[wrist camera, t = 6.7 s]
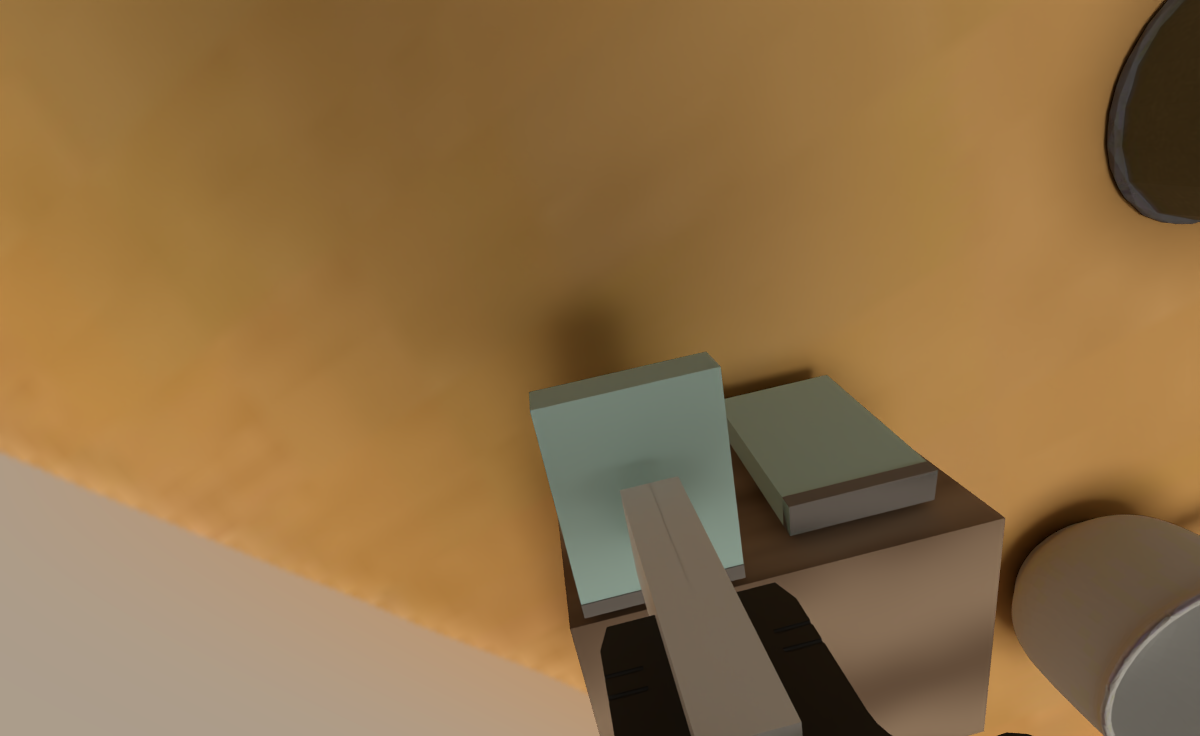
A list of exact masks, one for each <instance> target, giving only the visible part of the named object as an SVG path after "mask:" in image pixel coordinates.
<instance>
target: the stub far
mask: <svg viewBox="0 0 1200 736" xmlns="http://www.w3.org/2000/svg"><path fill="white" fill-rule="evenodd" d="M724 401H725V409H726V418H727V426H728V435H729V443H730V444H731V446H732V447H733V449H734V450H735V452H736V453H737V455H738V457H739V458H740V460H741V461H742V463H743V464H744V466H745V467H746V469H747V470H748V472H749V473H750V475H751V477H752V478H753V480H754V481H755V483H756V484H757V486H758V487H759V489H760V490H761V492H762V493H763V495H764V497H765V498H766V500H767V501H768V503H769V504H770V506H771V507H772V509H773V510H774V512H775V513H776V515H777V517H778V518H779V520H780V521H781V523H782V524H783V526H784V527H785V529H786V530H787V532H788V533H789V535H790V536H792V535H796V534H800V533H804V532H808V531H812V530H816V529H820V528H824V527H828V526H832V525H836V524H840V523H844V522H848V521H852V520H856V519H860V518H864V517H868V516H872V515H876V514H880V513H884V512H888V511H892V510H896V509H900V508H904V507H908V506H912V505H916V504H920V503H924V502H928V501H932V500H935V492H936V484H937V476H938V469H936V468H935V467H934V466H933V465H932V464H931V463H929V462H928V461H926V460H925V459H924V458H922V457H921V456H920V455H919V454H918V453H917V452H915V451H914V450H913V449H912V448H911V447H910V446H908V445H907V444H906V443H905V442H904V441H903V440H902V439H900V438H899V437H898V436H897V435H896V434H895V433H893V432H892V431H891V430H890V429H889V428H888V427H886V426H885V425H884V424H883V423H882V422H881V421H879V420H878V419H877V418H876V417H875V416H874V415H873V414H871V413H870V412H869V411H868V410H867V409H866V408H864V407H863V406H862V405H861V404H860V403H859V402H857V401H856V400H855V399H854V398H853V397H852V396H851V395H849V394H848V393H847V392H846V391H845V390H844V389H842V388H841V387H840V386H839V385H838V384H837V383H835V382H834V381H833V380H832V379H831V378H830V377H828V376H827V375H824V376H820V377H816V378H811V379H807V380H803V381H799V382H794V383H790V384H786V385H782V386H777V387H773V388H769V389H765V390H760V391H756V392H752V393H748V394H743V395H739V396H735V397H731V398H726V399H724Z"/></svg>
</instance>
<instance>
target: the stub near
mask: <svg viewBox="0 0 1200 736" xmlns="http://www.w3.org/2000/svg"><path fill="white" fill-rule="evenodd" d="M529 400H530V413H531V417H532V420H533V424H534V428H535V432H536V436H537V439H538V443H539V447H540V451H541V454H542V458H543V462H544V466H545V470H546V473H547V477H548V481H549V485H550V489H551V492H552V496H553V500H554V504H555V508H556V511H557V515H558V519H559V523H560V526H561V530H562V534H563V538H564V542H565V545H566V549H567V553H568V557H569V561H570V564H571V568H572V572H573V576H574V580H575V583H576V587H577V591H578V595H579V598H580V602H581V607H582V610H583V614H584V618H589V617H593V616H597V615H601V614H605V613H609V612H613V611H616V610H620V609H624V608H628V607H632V606H636V605H640V604H644V603H645V600H644V597H643V593H642V590H641V586H640V583H639V579H638V576H637V571H636V566H635V561H634V557H633V552H632V547H631V542H630V538H629V533H628V528H627V523H626V518H625V514H624V509H623V504H622V499H621V495H620V490H623V489H627V488H631V487H635V486H639V485H643V484H647V483H652V482H656V481H660V480H664V479H668V478H672V477H676V476H678V477H679V479H680V481H681V483H682V485H683V487H684V489H685V491H686V493H687V495H688V497H689V499H690V501H691V503H692V505H693V507H694V509H695V511H696V513H697V515H698V517H699V519H700V521H701V523H702V525H703V527H704V529H705V531H706V533H707V535H708V537H709V539H710V541H711V543H712V545H713V547H714V549H715V551H716V553H717V555H718V557H719V559H720V561H721V563H722V565H723V567H724V569H725V571H726V573H727V575H728V577H729V579H730V581H734V580H738V579H742V578H746V577H745V568H744V563H743V554H742V546H741V537H740V529H739V520H738V512H737V503H736V495H735V486H734V477H733V469H732V460H731V452H730V443H729V435H728V426H727V418H726V409H725V401H724V392H723V383H722V375H721V367H720V366H719V365H718V363H717V362H716V361H715V360H714V359H713V358H712V357H711V356H710V355H709V354H708V353H707V352H702V353H698V354H693V355H689V356H685V357H680V358H676V359H672V360H667V361H663V362H658V363H654V364H650V365H645V366H641V367H637V368H632V369H628V370H624V371H619V372H615V373H611V374H606V375H602V376H597V377H593V378H589V379H584V380H580V381H576V382H571V383H567V384H563V385H558V386H554V387H550V388H545V389H541V390H536V391H532V392H529Z"/></svg>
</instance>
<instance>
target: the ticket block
mask: <svg viewBox="0 0 1200 736" xmlns="http://www.w3.org/2000/svg"><path fill="white" fill-rule="evenodd" d="M730 452H731V460H732V469H733V477H734V486H735V495H736V503H737V512H738V520H739V529H740V537H741V546H742V554H743V563H744V568H745V577H746V578H742V579H738V580H734V581H731V583H732V585H733V587H734V589H735V591H736V592H739V591H743V590H747V589H751V588H754V587H758V586H762V585H766V584H770V583H774V582H775V583H777V584H778V585H779V586H781V587H782V588H783V589H785V590H786V591H787V592H789V593H790V594H791V595H793V596H794V597H795V598H797V600H798V602H799V603H800V605H801V606H802V608H803V609H804V611H805V613H806V614H807V616H808V617H809V619H810V622H811V624H813V625H814V627H815V628H816V630H817V632H818V633H819V635H820V636H821V638H822V641H823V643H825V644H826V646H827V647H828V649H829V651H830V652H831V654H832V655H833V657H834V659H835V660H836V662H837V663H838V665H839V666H840V668H841V670H842V671H843V673H844V674H845V676H846V678H847V679H848V681H849V682H850V684H851V685H852V687H853V689H854V690H855V692H856V693H857V695H858V697H859V698H860V700H861V701H862V703H863V704H864V706H865V708H866V709H867V711H868V712H869V713H870V715H871V716H872V717H873V718H874V720H875V721H876V722H877V723H878V724H879V725H880V726H881V727H882V728H883V729H884V730H886V731H887V732H888V733H889V734H891V735H892V736H968V735H972V734H976V733H979V732H983V731H984V724H985V714H986V704H987V695H988V685H989V675H990V665H991V655H992V645H993V635H994V625H995V615H996V605H997V595H998V585H999V575H1000V565H1001V556H1002V546H1003V536H1004V526H1005V518H1004V517H1003V516H1002V515H1000V514H999V513H998V512H996V511H995V510H994V509H992V508H991V507H990V506H988V505H987V504H986V503H984V502H983V501H982V500H980V499H979V498H978V497H976V496H975V495H974V494H972V493H971V492H970V491H968V490H967V489H965V488H964V487H963V486H961V485H960V484H959V483H957V482H956V481H955V480H953V479H952V478H951V477H949V476H948V475H947V474H945V473H944V472H943V471H941V470H940V469H939V468H937V467H936V466H935V465H933V464H932V463H931V464H932V465H933V466H934V467H935V468H936V469H938V476H937V484H936V492H935V500H932V501H928V502H924V503H920V504H916V505H912V506H908V507H904V508H900V509H896V510H892V511H888V512H884V513H880V514H876V515H872V516H868V517H864V518H860V519H856V520H852V521H848V522H844V523H840V524H836V525H832V526H828V527H824V528H820V529H816V530H812V531H808V532H804V533H800V534H796V535H792V536H790V535H789V533H788V532H787V530H786V529H785V527H784V526H783V524H782V523H781V521H780V520H779V518H778V517H777V515H776V513H775V512H774V510H773V509H772V507H771V506H770V504H769V503H768V501H767V500H766V498H765V497H764V495H763V493H762V492H761V490H760V489H759V487H758V486H757V484H756V483H755V481H754V480H753V478H752V477H751V475H750V473H749V472H748V470H747V469H746V467H745V466H744V464H743V463H742V461H741V460H740V458H739V457H738V455H737V453H736V452H735V450H734V449H733V447H732V446H731V444H730ZM915 452H916V451H915ZM919 455H920V454H919ZM920 456H921V455H920ZM921 457H922V456H921ZM922 458H924V457H922ZM924 459H925V458H924ZM925 460H926V459H925ZM926 461H928V460H926ZM928 462H929V461H928ZM929 463H930V462H929ZM558 522H559V519H558ZM559 531H560V540H561V549H562V558H563V567H564V577H565V586H566V595H567V604H568V613H569V622H570V630H571V634H572V637H573V641H574V644H575V648H576V652H577V655H578V659H579V662H580V666H581V669H582V673H583V677H584V680H585V684H586V687H587V691H588V694H589V698H590V702H591V705H592V709H593V712H594V716H595V719H596V723H597V727H598V730H599V734H600V736H614V731H613V725H612V719H611V713H610V707H609V700H608V695H607V689H606V683H605V677H604V671H603V665H602V659H601V653H600V650H601V646H602V642H603V639H604V635H605V632H606V628H607V627H609V626H613V625H617V624H621V623H625V622H628V621H632V620H636V619H640V618H644V617H648V616H649V614H648V611H647V607H646V604H645V603H644V604H640V605H636V606H632V607H628V608H624V609H620V610H616V611H613V612H609V613H605V614H601V615H597V616H593V617H589V618H584V614H583V610H582V607H581V602H580V598H579V595H578V591H577V587H576V583H575V580H574V576H573V572H572V568H571V564H570V561H569V557H568V553H567V549H566V545H565V542H564V538H563V534H562V530H561V526H560V523H559Z"/></svg>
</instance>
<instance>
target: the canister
mask: <svg viewBox="0 0 1200 736" xmlns="http://www.w3.org/2000/svg"><path fill="white" fill-rule="evenodd" d="M1107 148H1108V157H1109V165H1110V169H1111V171H1112V174H1113V176H1114V178H1115V181H1116V183H1117V186H1118V188H1119V189H1120V191H1121V193H1122V194H1123V196H1124V198H1125V199H1127V200H1128V201H1129V202H1130V203H1131V204H1132V205H1133V206H1134V207H1135V208H1136V209H1137V210H1138V211H1139V212H1140V213H1141V214H1142V215H1144V216H1147V217H1149V218H1152V219H1155V220H1157V221H1160V222H1165V223H1173V224H1193V223H1197V222H1200V0H1168V1H1167V2H1166V3H1165V4H1164V5H1163V7H1162V8H1161V9H1160V10H1159V11H1158V13H1157V14H1156V15H1155V16H1154V18H1153V19H1152V20H1151V21H1150V22H1149V24H1148V25H1147V27H1146V28H1145V30H1144V32H1143V34H1142V35H1141V37H1140V39H1139V41H1138V42H1137V44H1136V46H1135V48H1134V49H1133V51H1132V53H1131V55H1130V56H1129V58H1128V60H1127V62H1126V64H1125V66H1124V68H1123V70H1122V72H1121V75H1120V78H1119V80H1118V83H1117V86H1116V90H1115V94H1114V98H1113V102H1112V106H1111V109H1110V113H1109V123H1108V136H1107Z"/></svg>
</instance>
